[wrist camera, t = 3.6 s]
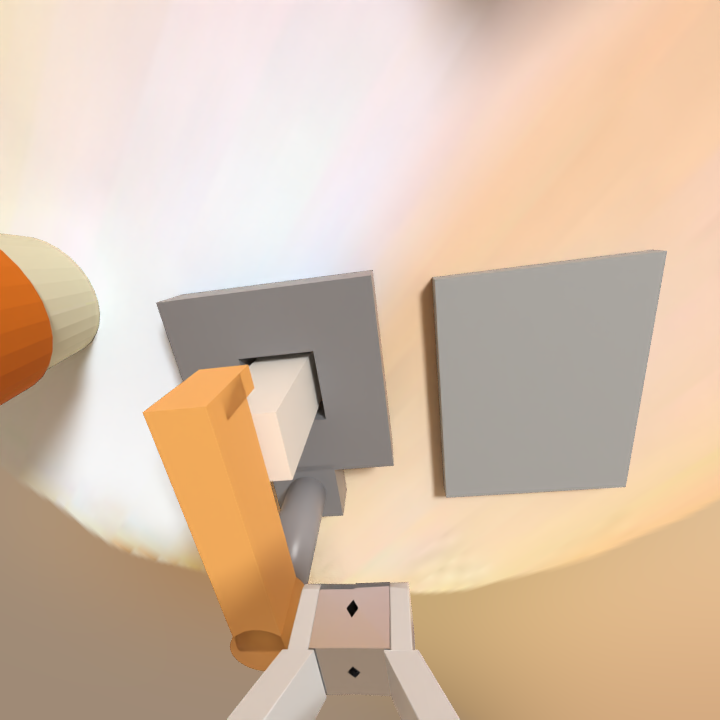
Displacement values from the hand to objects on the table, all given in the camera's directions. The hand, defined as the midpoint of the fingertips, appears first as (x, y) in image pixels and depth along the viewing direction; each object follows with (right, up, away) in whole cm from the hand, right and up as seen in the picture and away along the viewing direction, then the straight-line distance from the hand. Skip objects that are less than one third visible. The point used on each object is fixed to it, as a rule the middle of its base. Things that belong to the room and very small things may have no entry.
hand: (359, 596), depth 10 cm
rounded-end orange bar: (-5, -1, +9) cm, 10 cm away
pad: (+13, +5, +16) cm, 21 cm away
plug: (-5, +6, +17) cm, 18 cm away
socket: (-5, +4, +18) cm, 19 cm away
